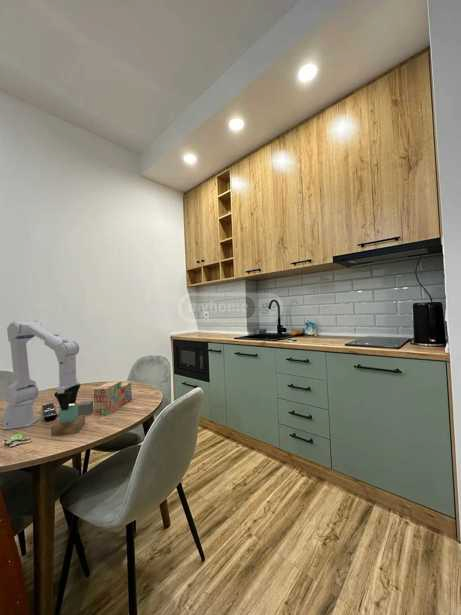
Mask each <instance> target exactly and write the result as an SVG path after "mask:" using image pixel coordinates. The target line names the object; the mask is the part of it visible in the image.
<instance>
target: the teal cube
mask: <svg viewBox="0 0 461 615" xmlns="http://www.w3.org/2000/svg"><path fill="white" fill-rule="evenodd" d="M78 405H79V404H74V405H72V404H70V405H69V408H68V410H63V411H62V410H61V409H59V419H60V424H61V423H69V422H75V420H76V419H77V418H78Z"/></svg>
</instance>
